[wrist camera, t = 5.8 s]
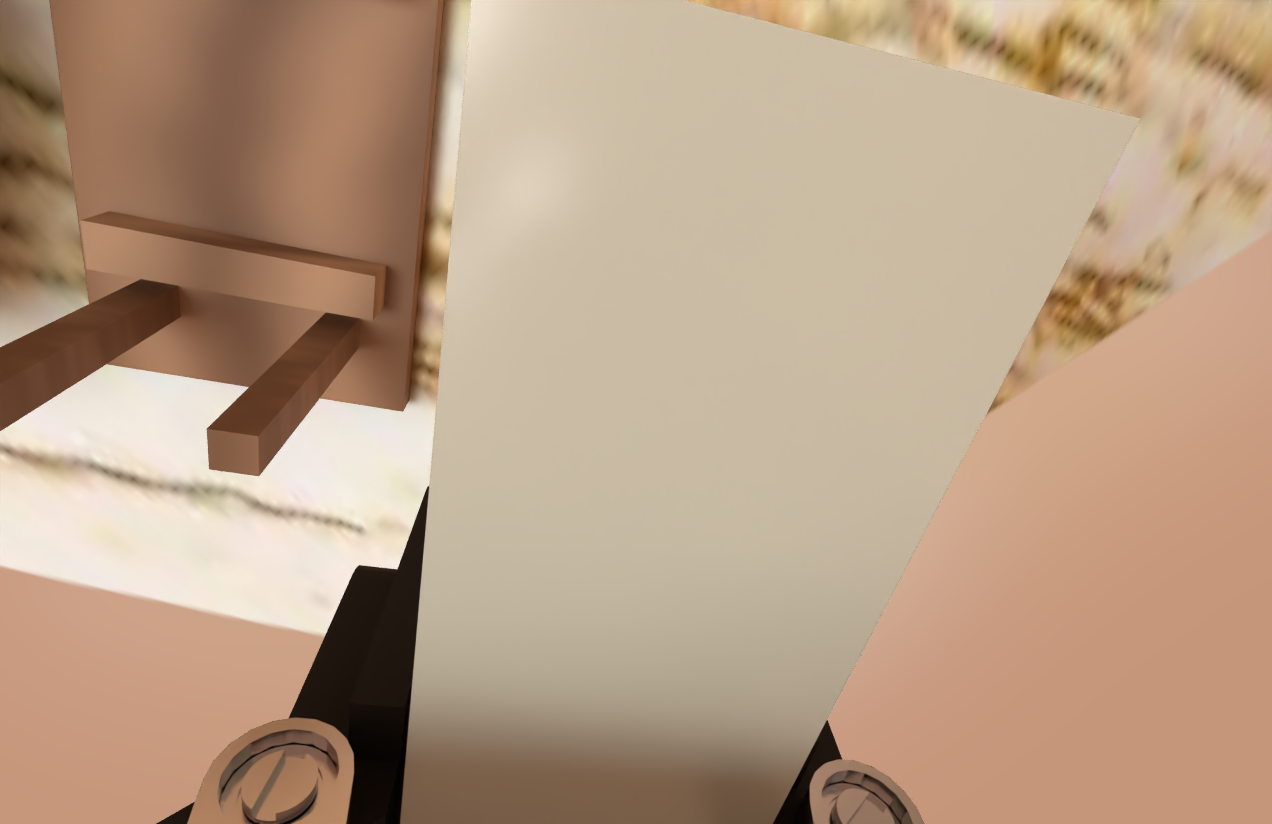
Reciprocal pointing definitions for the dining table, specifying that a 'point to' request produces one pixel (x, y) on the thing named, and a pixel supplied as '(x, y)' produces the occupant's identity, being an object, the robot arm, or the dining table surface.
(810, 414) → the cream rectangular block
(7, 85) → the dining table surface
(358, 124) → the rack
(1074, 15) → the dining table surface
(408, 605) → the robot arm
